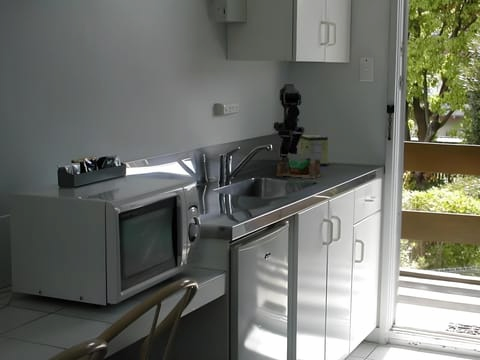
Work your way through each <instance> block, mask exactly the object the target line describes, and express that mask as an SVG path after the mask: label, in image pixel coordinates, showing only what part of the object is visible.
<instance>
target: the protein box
mask: <svg viewBox="0 0 480 360" xmlns="http://www.w3.org/2000/svg"><path fill="white" fill-rule="evenodd" d="M328 138H329V137H328V136H323V135H319V134H306V135H305V134H303V135H302V137H301V139H300V141H299V154H311V155H312V158H311V159H310V165H313V164H315V159H320V167H328V150H329V149H328V143H329V141H328Z"/></svg>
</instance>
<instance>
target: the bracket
mask: <svg viewBox="0 0 480 360" xmlns="http://www.w3.org/2000/svg"><path fill="white" fill-rule="evenodd" d="M276 168H277V169H276V174H275V175H276V177H283V176H291V177H290V178H297V177H302V178H301V179H310V178H313V179H316V178H319V177H321V176H322V173H321V166H320V159H315V164H313V165H310V166H309V174H307V175H293V174H290V169H289V158H287V157H285V158H284V162H282V161H281V162H279V163H277V167H276Z"/></svg>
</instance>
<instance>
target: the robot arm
mask: <svg viewBox="0 0 480 360" xmlns="http://www.w3.org/2000/svg"><path fill="white" fill-rule="evenodd" d="M278 95H279V96H278V97H279V101H280V105H281V107H282V109H283V122H278V121H277V122H274V123H273V127H272V128H273V129H274V130H275V132H277V136H279V138H281V139H282V140H281V141H280V145H279V148H278V149H279V152H278V157H279V158H281V163H282V162H284V158H285V157H287V156H288V153H289V152H290V154H298V145H299V144H300V139H301V137H302V135H304V133H305V127H304V126H298V123H299V121H300V118H298V117H299V115H300V109H299V107H298V106H301V104H302V102H303V101H302V94H301V93H300V92H299V90H298V89H296V88H295V84H293V83H292V84H291V83H285V84H283V87H281V88H280V90H279V94H278ZM287 158H288V157H287ZM289 170H290V167H289Z"/></svg>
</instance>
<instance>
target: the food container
mask: <svg viewBox="0 0 480 360" xmlns="http://www.w3.org/2000/svg"><path fill="white" fill-rule="evenodd" d="M287 155H288V156H287V157H288V158H289V167H290V169H289V172H290V174H293V175H307V174H309V166H310V159H311V158H312V155H311V154H300V153H297V154H290V152H289V153H288V154H287Z"/></svg>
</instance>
